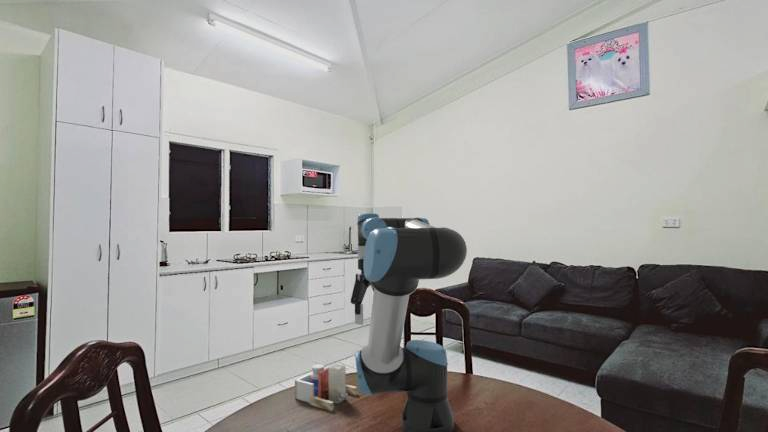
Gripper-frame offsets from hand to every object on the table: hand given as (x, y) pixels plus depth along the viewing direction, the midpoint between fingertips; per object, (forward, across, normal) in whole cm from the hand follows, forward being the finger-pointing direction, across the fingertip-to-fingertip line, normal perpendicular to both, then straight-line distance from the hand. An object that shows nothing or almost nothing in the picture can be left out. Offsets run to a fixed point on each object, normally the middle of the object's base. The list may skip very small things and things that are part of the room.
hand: (369, 320), depth 133 cm
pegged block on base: (+25, +8, -8) cm, 28 cm away
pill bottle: (+25, +8, -16) cm, 31 cm away
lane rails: (+25, +8, -9) cm, 28 cm away
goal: (+25, +8, -17) cm, 31 cm away
